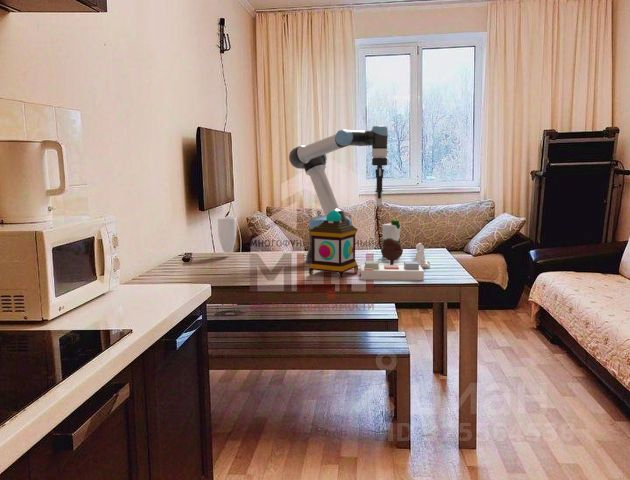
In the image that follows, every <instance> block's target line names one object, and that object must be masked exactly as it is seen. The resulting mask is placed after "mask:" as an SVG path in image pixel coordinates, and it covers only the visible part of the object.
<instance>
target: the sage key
mask: <svg viewBox="0 0 630 480" xmlns="http://www.w3.org/2000/svg"><path fill="white" fill-rule="evenodd" d="M364 265H365V268H373V269H379V265H380V264H379V261H378V260H373V261H372V260H366V261H364Z"/></svg>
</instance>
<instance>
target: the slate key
mask: <svg viewBox="0 0 630 480" xmlns="http://www.w3.org/2000/svg"><path fill="white" fill-rule="evenodd" d="M403 265H404V269H419V263H418V262H414V261H413V260H412V261H411V260H410V261H405V260H404V261H403Z"/></svg>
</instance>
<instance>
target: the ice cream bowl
mask: <svg viewBox="0 0 630 480" xmlns="http://www.w3.org/2000/svg"><path fill="white" fill-rule="evenodd" d="M403 251H404V249H403V248H402V246H401V243H400V244H399V243H398V242H396V241H394V240H393V239H391V238H387V239H386V240H385V241H384V248H383V247H382V248H381V249H380V253H381V255H383V256H384V257H383V258H385V260H388V261H389V265H394V261H397V260H398V259H400V258H401V257H402V255H403Z"/></svg>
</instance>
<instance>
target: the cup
mask: <svg viewBox="0 0 630 480" xmlns="http://www.w3.org/2000/svg"><path fill="white" fill-rule="evenodd" d="M217 233H218V239H219V243H220V246H221V248H222V250H223V252H224V253H231V252H233V250H234V247H235V244H236V238H237V217H233V216H224V217H223V216H221V217H218V218H217Z"/></svg>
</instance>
